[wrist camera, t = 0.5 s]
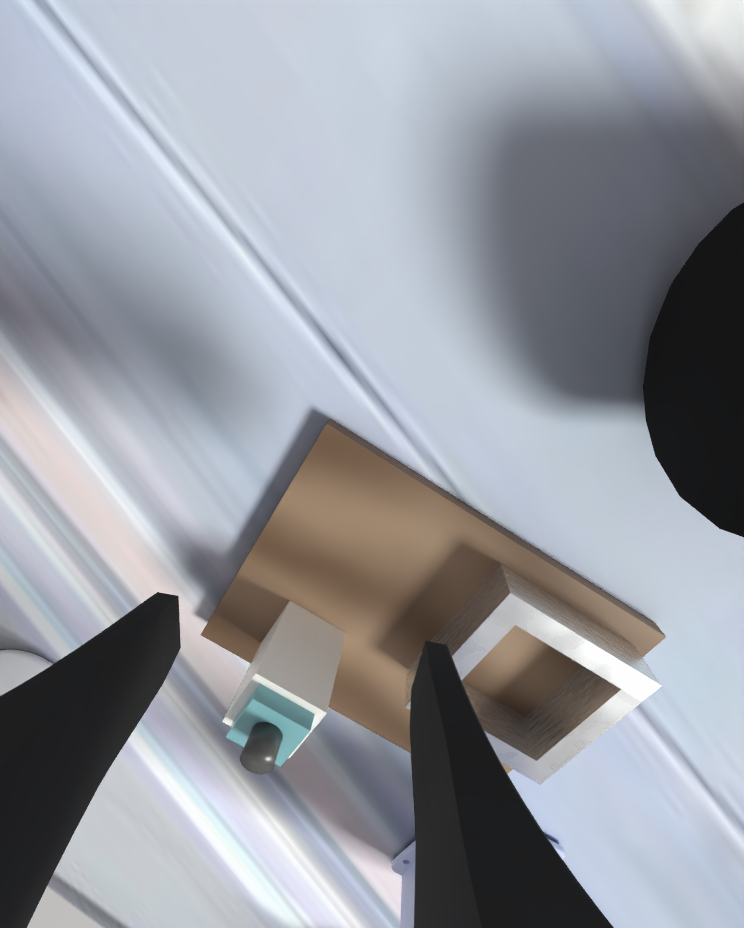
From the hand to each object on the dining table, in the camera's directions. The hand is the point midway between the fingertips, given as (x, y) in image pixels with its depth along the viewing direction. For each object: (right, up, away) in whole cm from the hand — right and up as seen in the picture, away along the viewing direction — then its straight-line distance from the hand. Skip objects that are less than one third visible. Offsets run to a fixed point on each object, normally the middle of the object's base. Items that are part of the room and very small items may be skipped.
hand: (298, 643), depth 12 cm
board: (+5, -4, +11) cm, 13 cm away
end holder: (+10, -5, +10) cm, 15 cm away
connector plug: (-2, -5, +11) cm, 12 cm away
